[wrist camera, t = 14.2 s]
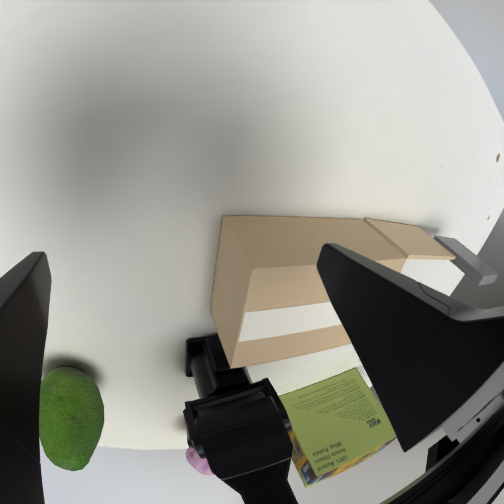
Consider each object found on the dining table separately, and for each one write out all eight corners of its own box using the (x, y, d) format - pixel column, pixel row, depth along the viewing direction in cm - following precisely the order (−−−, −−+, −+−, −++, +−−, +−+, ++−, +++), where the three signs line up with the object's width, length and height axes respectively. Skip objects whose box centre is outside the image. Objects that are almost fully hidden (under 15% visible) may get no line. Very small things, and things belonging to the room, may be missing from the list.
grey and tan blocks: (440, 227, 34) (498, 274, 26) (437, 235, 35) (493, 282, 27) (366, 214, 28) (443, 280, 20) (362, 225, 29) (436, 292, 20)
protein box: (276, 396, 44) (316, 478, 32) (356, 366, 48) (401, 434, 36) (272, 420, 50) (304, 489, 38) (342, 393, 54) (378, 453, 42)
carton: (330, 296, 34) (363, 340, 28) (210, 310, 28) (231, 369, 23) (360, 218, 28) (407, 259, 23) (222, 215, 23) (253, 269, 18)
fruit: (31, 349, 24) (21, 453, 14) (99, 354, 27) (106, 461, 18) (46, 388, 27) (46, 476, 18) (105, 392, 31) (115, 481, 21)
